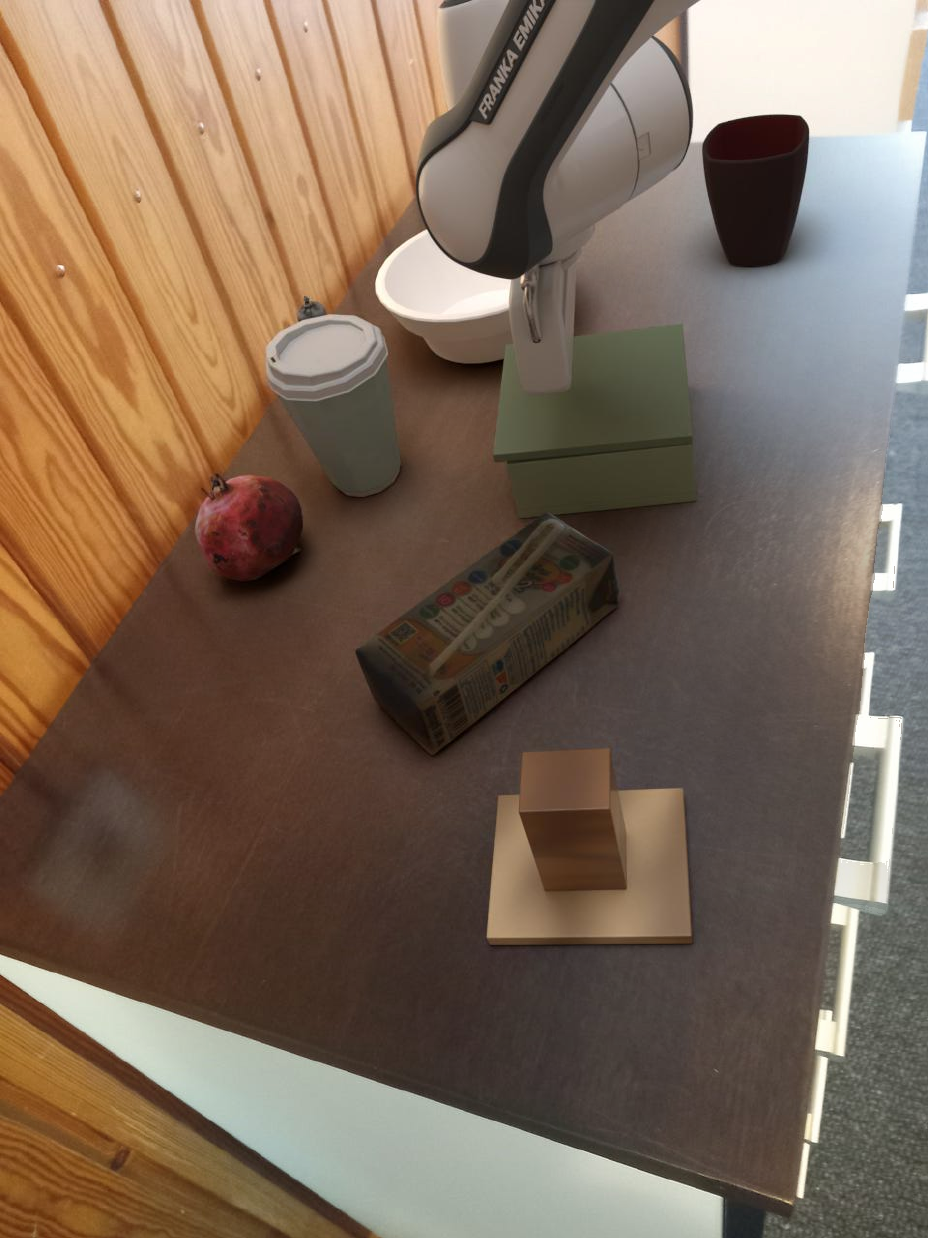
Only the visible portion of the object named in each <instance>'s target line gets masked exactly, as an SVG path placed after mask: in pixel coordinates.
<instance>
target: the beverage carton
mask: <svg viewBox="0 0 928 1238" xmlns="http://www.w3.org/2000/svg"><path fill="white" fill-rule="evenodd" d="M614 557H615V556H614V553H612V552H611V551H610V550H609V549H607V548H605V547H604V546H602V545H601V544H599V543H597V542H595V540H592V539H590V538H589V537H587V536H586V535H584V534H583V533H581V532H580V531H578V530H576V528H573V527H572V526H570V525H569V524H567V523H566V522H564V521H563V520H561V519H560V518H558V517H557V516H556V515H552V514H550V513H547V512H545V513H544V514H542V515H541V516H540V517H536V518H535V519H534V520H533V521H531V522H530V523H528V524H527V525H525V526H524V527H522V528H521V529H519V531H517V532H516V533H514V534H512V535H511V536H510V537H508V538H507V539H505V540H503V541H502V542H501V543H499V544H498V545H497V546H496V547H494V548H493V549H492V550H490V551H489V552H487V553H486V554H484V555H482V556H481V557H480V558H479V559H477V560H476V561H474V562H473V563H472V564H470V565H469V566H468V567H466V568H465V569H463V570H462V571H460V572H459V573H458V574H456V575H455V576H453V577H452V578H450V580H448V581H447V582H445V583H443V584H442V585H441V586H440V587H439V588H437V589H436V590H435V591H433V592H432V593H431V594H429V595H428V596H426V597H425V598H423V599H422V600H420V601H418V602H417V604H415V605H414V606H413V607H411V608H410V609H408V610H407V611H406V612H404V613H403V614H402V615H400V616H398V618H396V619H395V620H394V621H392V622H391V623H388V625H387V626H385V627H384V628H382V629H381V630H380V631H379V632H377V633H376V634H375V635H373V636H371V637H370V638H369V639H368V640H367V641H366V642H364V643H363V644H362V645H360V646H359V647H357V648H356V649H355V651H354V654H355V656H356V659H357V662H358V664H359V668H360V669H361V672H362V674H363V676H364V679H365V680H366V684H367V686H368V688H369V691H370V693H371V695H372V697H373V699H374V701H375V702H376V703H377V704H378V705H379V707H381V708H382V709H383V710H384V711H385V712H386V713H387V714H388V715H389V716H390V717H391V718H392V719H393V720H394V721H395V722H396V723H397V724H399V726H400V727H401V728H402V729H403V730H404V731H405V732H406V733H407V734H408V735H409V736H410V737H411V738H412V739H414V741H416V742H417V744H419V745H420V747H422V748H423V749H424V750H425V751H426V752H427V753H428V754H429V755H432V756H435V754H437V753H438V752H439V751H440V750H441V749H443V748H444V747H445V746H447V745H448V744H449V743H450V742H452V741H453V740H454V739H456V738H457V737H458V736H459V735H461V734H462V733H464V731H466V730H467V729H468V728H469V727H471V726H472V725H474V723H476V722H477V721H478V720H480V719H481V718H482V717H483V716H485V715H486V714H487V713H489V711H491V710H492V709H493V708H494V707H496V706H497V705H498V704H499V703H500V702H502V701H503V700H504V699H505V698H507V697H509V695H510V694H512V693H513V692H514V691H515V690H517V689H518V688H519V687H520V686H521V685H523V684H524V683H525V682H526V681H528V680H529V679H530V678H531V677H533V676H534V675H535V674H537V673H538V672H539V671H540V670H541V669H543V667H545V666H546V665H547V664H549V663H550V662H551V661H552V660H553V659H555V658H556V657H557V656H559V655H560V654H561V653H562V652H564V651H565V650H567V649H568V648H569V647H570V646H571V645H572V644H573V643H575V642H576V641H577V640H578V639H580V638H581V637H582V636H584V635H585V634H586V633H587V632H588V631H589V630H591V629H592V628H593V627H594V626H595V625H596V624H598V623H599V621H601V620H603V619H604V618H605V617H606V616H608V614H610V613H611V612H612V611H614V610H615V609H616V608H617V607H618V606H619V604H620V603H619V592H620V591H619V587H618V578H617V575H616V567H615V558H614Z"/></svg>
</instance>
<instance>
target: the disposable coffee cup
mask: <svg viewBox="0 0 928 1238" xmlns="http://www.w3.org/2000/svg"><path fill="white" fill-rule="evenodd" d="M388 355H389V351H388V347H387V342H386V339H385V336H384V335H383V333H382V330H381V328H380V327H379V326H376V325H374V324H373V323H371V322H369V321H367V320H365V319H363V318H361V317H359V316H357V315H353V314H352V315H351V314H349V315H348V314H334V313H333V314H331V313H330V314H327V315H324V316H320V317H315V318H311V319H306V320H302V321H300V322H298V321H297V322H296V323H294V324H292V325H290V326H288V327H287V328H284V329H282V330H280V331H279V332H277V334H276V335H275V336H274V337H273V338H272V340H271V341H270V342H269V343H268V344H267V345H266V346H265V357H266V359H265V361H264V362H265V373H266V374H265V375H266V378H267V384H268V386H269V388H270V389H271V391H272V392H274V393H275V394H276V395H277V397H278V398H279V400H280V401H281V403H282V406H284V408H285V410H286V411H287V413H288V414H289V416H290V418H291V419H292V421H293V423H294V424H295V426H296V427H297V429H298V431H299V433H300V434H301V435H302V437H303V439H304V440H305V442H306V444H307V445H308V447H309V448H310V450H311V452H312V454H313V455H314V456H315V458H316V460H317V461H318V463H319V464H320V467H321V468H322V470H323V471H324V473H325V474H326V476H327V478H328V479H329V481H330V483H331V484H332V485H333V486H334V487H336V488H337V489H338V490H339V491H340V492H342V493H343V494H344V495H346V496H348V497H359V498H365V497H368V496H371V495H376V494H379V493H382V492H383V491H384V490H386V489H387V488H389V487H390V486H391V485H392V484H394V483H395V481H396V479H397V477H398V475H399V474H400V472H401V469H400V467H401V466H402V460H401V453H400V446H399V445H400V444H399V439H398V431H397V423H396V417H395V411H394V410H395V409H394V404H393V403H394V402H393V397H392V390H391V382H390V375H389V367H388V360H387V357H388Z"/></svg>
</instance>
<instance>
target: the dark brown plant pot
mask: <svg viewBox="0 0 928 1238" xmlns="http://www.w3.org/2000/svg"><path fill="white" fill-rule="evenodd" d="M809 144H810V127H809V124H808V121H806V120H805V118H804V117H803V116H802V115H800V114H786V113H785V114H783V113H779V114H778V113H777V114H775V113H773V114H759V115H750V116H745V117H739V118H735V119H731V120H730V119H729V120H727V121H722V122H719V123H717V124H716V125H715V126H714V127H713V128H711V130H710V131H709V132H708V134H706V136H705V138H704V140H703V141H702V146H701V147H702V148H701V153H702V154H701V155H702V166H703V175H704V182H705V187H706V192H707V197H708V202H709V206H710V210H711V211H710V212H711V214H712V215H711V216H712V218H713V222H714V226H715V230H716V232H717V233H716V234H717V236H718V239H719V242H720V245H721V248H722V250H723V253H724V255H725V258H726V260H727V261H728V263H729V264H730V265H732V266H738V267H759V266H766V265H771V264H776V263H779V262H780V261H781V260H782V259H783V258H784V256H785V255H786V253H787V250H788V247H789V244H790V242H791V238H792V235H793V232H794V229H795V226H796V222H797V217H798V214H799V208H800V205H801V201H802V196H803V195H802V194H803V190H804V185H805V179H806V174H807V166H808V161H809V149H810V148H809V147H810V145H809Z"/></svg>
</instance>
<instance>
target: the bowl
mask: <svg viewBox="0 0 928 1238" xmlns="http://www.w3.org/2000/svg"><path fill="white" fill-rule="evenodd" d="M580 258H581V256H580V257H579V259H578V260H577V265H578V264H579V261H580ZM510 285H511V280H509V279H503V278H497V277H493V276H489V275H485V274H481V273H478V272H475V271H473V270H470V269H468V268H466V267H464V266H461V265H459V264H458V263H456V262H454V261H453V260H451V259H450V258H449V257H447V256H446V255H445V254H444V253H443V252H442V251H441V250H440V249H439V247H438V246H437V245H436V244H435V242H434V241H433V239H432V238H431V236H430V234H429V233H428V231H427V229H424V230H423V231H421V232H419V233H418V234H415V235H414V236H412V237H410V238H409V239H407V240H406V241H405V242H403V243H402V244H401V245H399V247H397V248H396V249H394V250H393V252H392V253H391V254H389V256H388V257H387V258H385V260H384V262H383V263H382V265H381V266H380V268H379V270H378V272H377V275H376V279H375V285H374V286H375V295H376V296H377V298H378V300H379V303H380V304H381V305H382V306H383V307H384V308H385V309H386V310H387V311H388V312H389V313H390V314H391V316H393V318H394V319H395V320H396V321H397V322H398V323H399V324H401V325H402V327H404V329H406V331H408V332H410V333H412V334H414V335H416V336H418V337H421V338H422V339H423V340H424V341H425V343H426V344H427V345H428V347H429V348H430V350H431V351H432V352H434V354H436V356H439V358H442V359H444V360H446V361H450V362H454V363H461V364H484V363H491V362H497V361H500V360H504V355H505V347H506V345H507V344H513V339H512V333H511V326H510V317H509V293H510Z"/></svg>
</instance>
